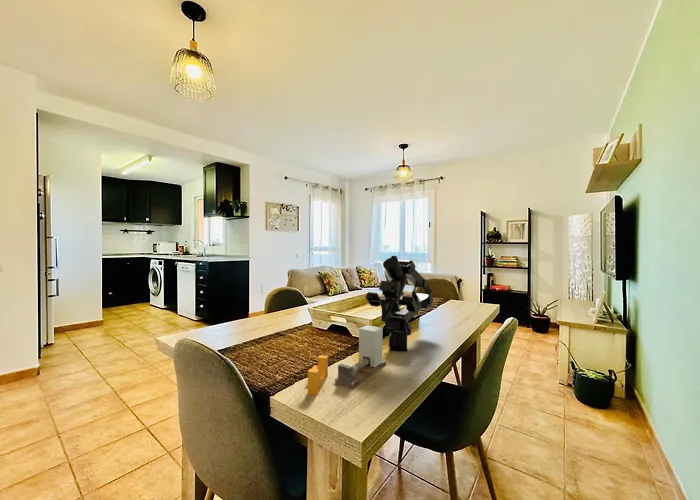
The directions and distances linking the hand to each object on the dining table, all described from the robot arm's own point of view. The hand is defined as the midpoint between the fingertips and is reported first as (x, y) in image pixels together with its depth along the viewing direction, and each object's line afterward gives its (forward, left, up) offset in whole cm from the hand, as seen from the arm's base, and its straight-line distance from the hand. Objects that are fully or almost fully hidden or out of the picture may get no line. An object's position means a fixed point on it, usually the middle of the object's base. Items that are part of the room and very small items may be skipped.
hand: (383, 321), depth 106 cm
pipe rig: (+7, +12, -14) cm, 19 cm away
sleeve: (+4, +7, -12) cm, 15 cm away
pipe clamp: (+20, +21, -14) cm, 32 cm away
